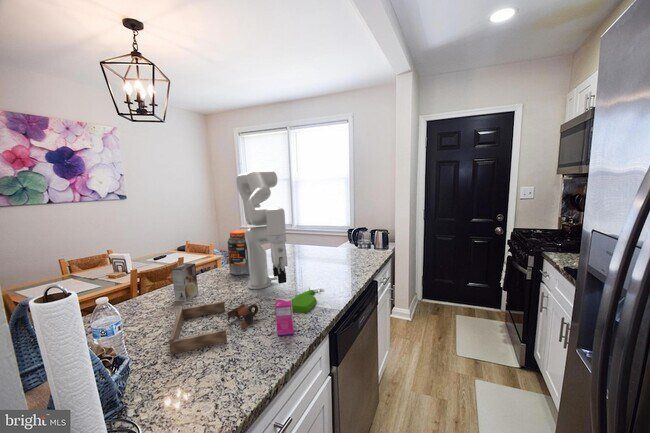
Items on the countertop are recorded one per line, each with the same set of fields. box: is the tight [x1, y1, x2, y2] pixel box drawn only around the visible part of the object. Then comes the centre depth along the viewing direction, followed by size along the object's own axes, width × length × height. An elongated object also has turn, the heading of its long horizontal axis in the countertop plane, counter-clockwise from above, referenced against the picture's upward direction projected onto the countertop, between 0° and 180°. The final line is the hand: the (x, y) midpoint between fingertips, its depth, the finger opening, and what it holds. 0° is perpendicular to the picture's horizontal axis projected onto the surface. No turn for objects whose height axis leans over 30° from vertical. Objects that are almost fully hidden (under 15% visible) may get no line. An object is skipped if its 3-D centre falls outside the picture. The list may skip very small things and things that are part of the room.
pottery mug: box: [226, 303, 259, 329], centre depth 107 cm, size 12×10×8 cm
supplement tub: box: [227, 229, 249, 276], centre depth 169 cm, size 16×16×26 cm
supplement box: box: [274, 297, 295, 337], centre depth 97 cm, size 6×6×12 cm
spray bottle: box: [291, 286, 325, 313], centre depth 124 cm, size 3×11×25 cm
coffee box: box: [171, 262, 199, 302], centre depth 132 cm, size 9×6×16 cm
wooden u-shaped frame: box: [168, 300, 228, 355], centre depth 102 cm, size 17×26×5 cm, turn 22°
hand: (279, 279), depth 111 cm, fingers open, 9 cm apart
